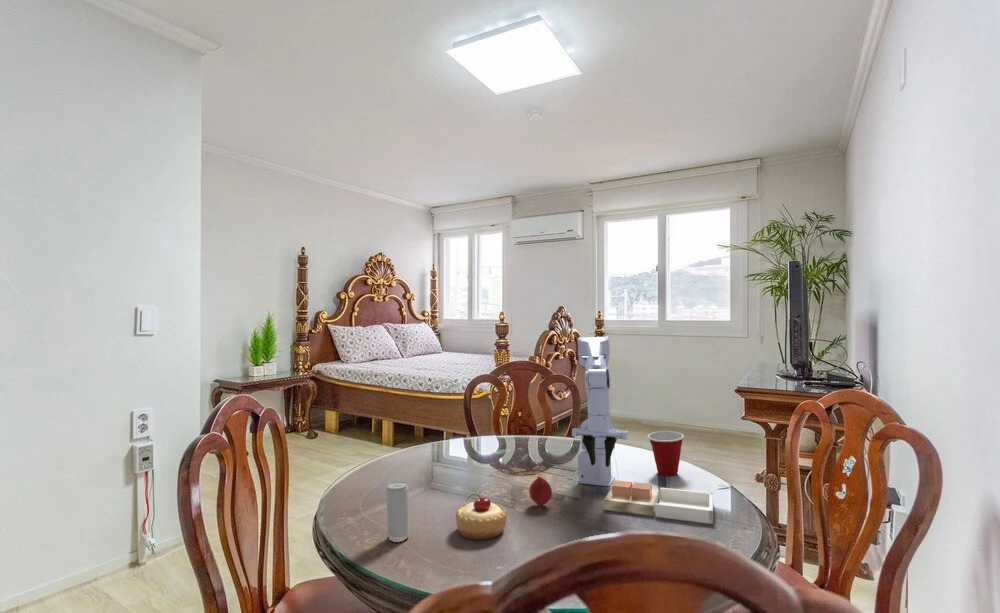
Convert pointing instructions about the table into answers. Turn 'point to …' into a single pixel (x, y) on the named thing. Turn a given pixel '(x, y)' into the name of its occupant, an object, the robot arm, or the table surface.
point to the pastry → (481, 519)
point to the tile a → (622, 488)
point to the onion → (540, 491)
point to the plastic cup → (666, 451)
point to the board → (632, 503)
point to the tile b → (642, 490)
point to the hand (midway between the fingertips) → (600, 464)
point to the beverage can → (397, 509)
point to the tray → (685, 505)
